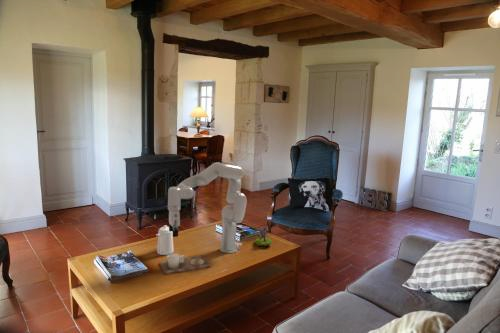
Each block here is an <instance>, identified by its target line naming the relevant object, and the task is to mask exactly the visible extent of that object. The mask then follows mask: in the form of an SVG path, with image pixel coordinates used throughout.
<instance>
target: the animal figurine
mask: <svg viewBox="0 0 500 333" xmlns="http://www.w3.org/2000/svg"><path fill="white" fill-rule="evenodd" d="M260 229H261V231H260V236H259V237H257V238H255V239H254V241H253V242H254V243H255V244H256V245H259V246H263V247H264V246H265V247H266V246H269V245H271V244H272V242H273V240H272V239H271V238H269V237H266V236H268V235H270V234H269V233H267V232H268V231H269V227H268V225H265V226H264V227H262V228H260Z"/></svg>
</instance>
